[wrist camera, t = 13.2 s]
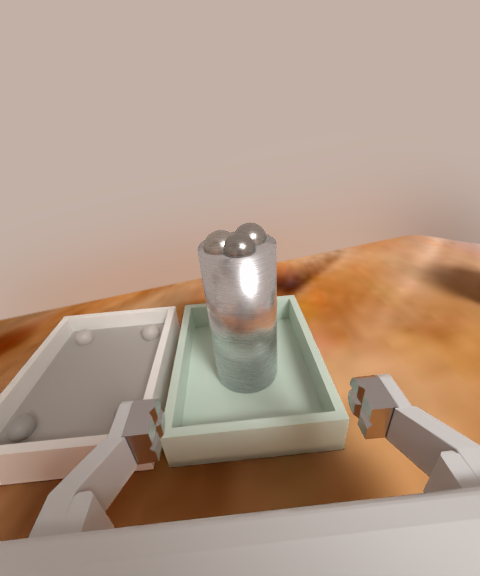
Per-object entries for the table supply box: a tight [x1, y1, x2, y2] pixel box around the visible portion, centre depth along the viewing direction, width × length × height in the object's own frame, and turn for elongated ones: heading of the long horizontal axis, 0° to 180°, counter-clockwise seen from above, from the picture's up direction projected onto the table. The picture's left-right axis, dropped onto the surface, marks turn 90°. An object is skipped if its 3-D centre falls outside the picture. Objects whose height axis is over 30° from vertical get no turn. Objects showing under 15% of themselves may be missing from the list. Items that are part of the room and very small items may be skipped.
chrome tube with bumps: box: [198, 223, 277, 394], centre depth 20 cm, size 5×5×12 cm
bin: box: [160, 295, 350, 467], centre depth 23 cm, size 11×14×3 cm
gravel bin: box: [0, 306, 180, 485], centre depth 23 cm, size 11×14×3 cm
